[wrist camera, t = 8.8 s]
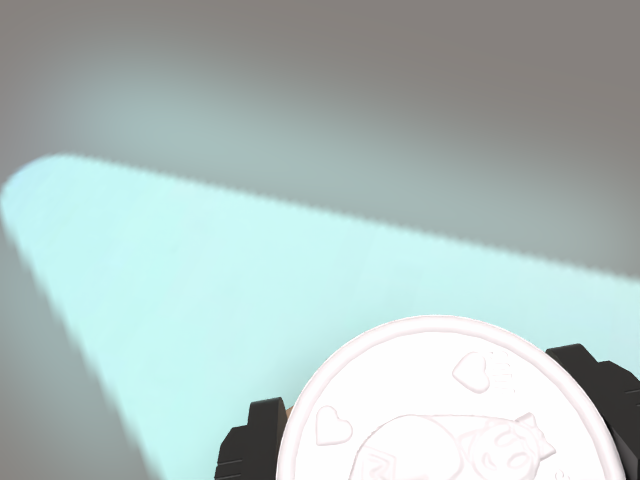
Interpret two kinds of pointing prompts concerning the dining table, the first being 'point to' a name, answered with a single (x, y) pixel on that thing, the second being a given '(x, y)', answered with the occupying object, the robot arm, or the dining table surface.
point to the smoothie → (444, 410)
